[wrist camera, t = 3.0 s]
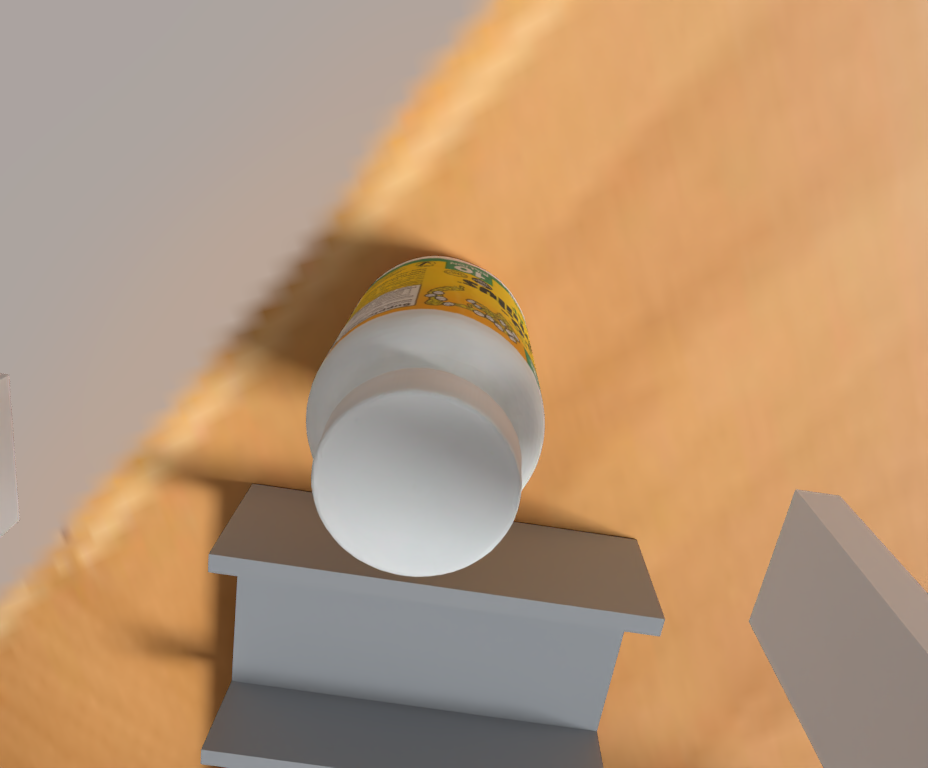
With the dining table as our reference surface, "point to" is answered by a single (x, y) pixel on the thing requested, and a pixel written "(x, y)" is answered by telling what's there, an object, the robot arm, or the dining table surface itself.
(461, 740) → the rack
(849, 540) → the robot arm
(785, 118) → the dining table surface
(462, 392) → the supplement bottle
